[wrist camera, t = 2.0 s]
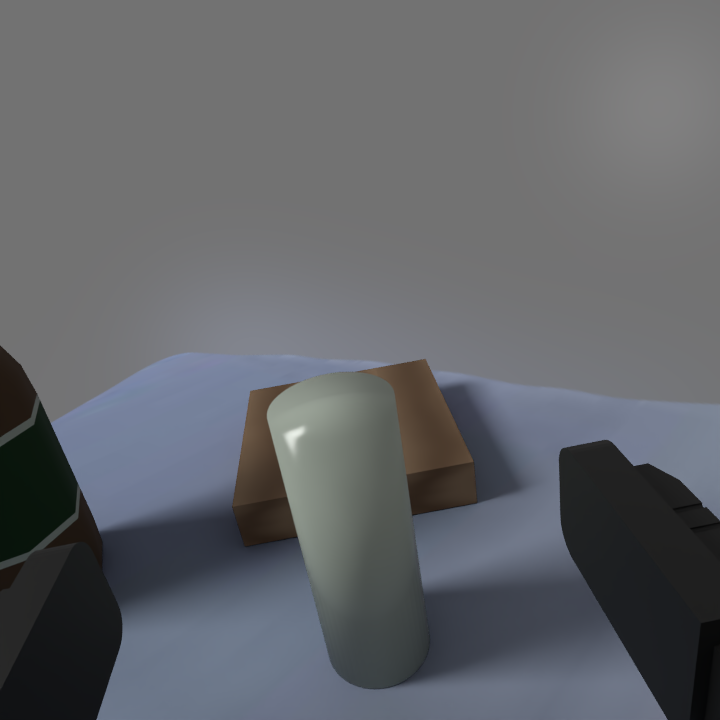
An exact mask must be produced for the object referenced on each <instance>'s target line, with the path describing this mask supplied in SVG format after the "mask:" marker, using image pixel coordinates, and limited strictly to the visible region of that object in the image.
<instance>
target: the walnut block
mask: <svg viewBox="0 0 720 720" xmlns="http://www.w3.org/2000/svg"><path fill="white" fill-rule="evenodd" d="M357 372H361V373H367V374H372V375H375V376H378V377H380V378H382V379H384V380H386V381H387V382H388V383H389V384H390V385H391V386H392V388H393V390H394V394H395V400H396V407H397V414H398V421H399V428H400V435H401V442H402V449H403V456H404V462H405V469H406V476H407V483H408V490H409V497H410V504H411V511H412V515H415V514H420V513H425V512H431V511H436V510H441V509H447V508H452V507H457V506H462V505H468V504H473V503H477V494H476V482H475V470H474V461H473V459H472V457H471V455H470V453H469V450H468V448H467V446H466V444H465V442H464V440H463V438H462V436H461V433H460V431H459V429H458V427H457V425H456V423H455V421H454V419H453V416H452V414H451V412H450V410H449V408H448V406H447V404H446V402H445V400H444V397H443V395H442V393H441V391H440V389H439V387H438V385H437V383H436V380H435V378H434V376H433V374H432V372H431V370H430V368H429V366H428V364H427V361H426V359H423V360H418V361H412V362H407V363H401V364H396V365H390V366H385V367H379V368H374V369H368V370H363V371H357ZM297 383H299V382H297ZM297 383H292V384H286V385H281V386H275V387H270V388H264V389H259V390H253V391H250V397H249V403H248V410H247V416H246V422H245V429H244V435H243V442H242V448H241V454H240V461H239V467H238V473H237V480H236V486H235V493H234V499H233V505H232V508H233V511H234V514H235V517H236V520H237V523H238V526H239V530H240V533H241V536H242V539H243V542H244V545H245V546H250V545H256V544H261V543H266V542H272V541H277V540H282V539H287V538H293V537H298V536H297V532H296V528H295V524H294V520H293V516H292V512H291V509H290V505H289V501H288V497H287V493H286V489H285V486H284V482H283V478H282V474H281V470H280V466H279V463H278V459H277V455H276V451H275V447H274V443H273V439H272V436H271V432H270V428H269V424H268V420H267V411H268V408H269V406H270V404H271V403H272V402H273V400H274V399H275V398H276V397H277V396H278V395H279V394H281V393H282V392H283V391H285V390H286V389H288V388H290V387H291V386H293V385H295V384H297Z"/></svg>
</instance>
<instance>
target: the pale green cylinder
mask: <svg viewBox="0 0 720 720" xmlns="http://www.w3.org/2000/svg"><path fill="white" fill-rule="evenodd" d="M267 420H268V424H269V428H270V432H271V436H272V439H273V443H274V447H275V451H276V455H277V459H278V463H279V466H280V470H281V474H282V478H283V482H284V486H285V489H286V493H287V497H288V501H289V505H290V509H291V512H292V516H293V520H294V524H295V528H296V532H297V536H298V539H299V543H300V547H301V551H302V555H303V559H304V562H305V566H306V570H307V574H308V578H309V582H310V586H311V589H312V593H313V597H314V601H315V605H316V609H317V612H318V616H319V620H320V624H321V628H322V632H323V635H324V639H325V643H326V647H327V651H328V655H329V658H330V662H331V664H332V666H333V668H334V669H335V671H336V672H337V673H338V674H339V675H340V676H341V677H342V678H343V679H344V680H346V681H347V682H349V683H351V684H353V685H355V686H358V687H362V688H368V689H381V688H387V687H391V686H394V685H397V684H399V683H401V682H403V681H405V680H406V679H408V678H409V677H411V676H412V675H413V674H414V673H415V672H416V671H417V670H418V669H419V668H420V666H421V665H422V663H423V662H424V660H425V658H426V656H427V653H428V650H429V644H430V635H429V628H428V622H427V615H426V608H425V601H424V594H423V587H422V580H421V573H420V566H419V559H418V552H417V545H416V539H415V532H414V525H413V518H412V511H411V504H410V497H409V490H408V483H407V476H406V469H405V462H404V456H403V449H402V442H401V435H400V428H399V421H398V414H397V407H396V400H395V394H394V390H393V388H392V386H391V385H390V384H389V383H388V382H387V381H386V380H384V379H382V378H380V377H378V376H375V375H372V374H367V373H361V372H338V373H330V374H325V375H320V376H316V377H313V378H310V379H307V380H304V381H302V382H299V383H297V384H295V385H293V386H291V387H290V388H288V389H286V390H285V391H283V392H282V393H281V394H279V395H278V396H277V397H276V398H275V399H274V400H273V402H272V403H271V404H270V406H269V408H268V411H267Z"/></svg>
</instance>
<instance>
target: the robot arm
mask: <svg viewBox="0 0 720 720" xmlns="http://www.w3.org/2000/svg"><path fill="white" fill-rule="evenodd" d="M559 475H560V515H561V526H562V531H563V535H564V539H565V542H566V545H567V548H568V550H569V552H570V555H571V557H572V558H573V560H574V562H575V564H576V565H577V567H578V569H579V570H580V572H581V574H582V575H583V577H584V579H585V580H586V582H587V584H588V586H589V587H590V589H591V591H592V592H593V594H594V596H595V597H596V599H597V601H598V602H599V604H600V606H601V608H602V609H603V611H604V613H605V614H606V616H607V618H608V619H609V621H610V623H611V624H612V626H613V628H614V630H615V631H616V633H617V635H618V636H619V638H620V640H621V641H622V643H623V645H624V646H625V648H626V650H627V652H628V653H629V655H630V657H631V658H632V660H633V662H634V663H635V665H636V667H637V668H638V670H639V672H640V674H641V675H642V677H643V679H644V680H645V682H646V684H647V685H648V687H649V689H650V690H651V692H652V694H653V696H654V697H655V699H656V701H657V702H658V704H659V706H660V707H661V709H662V711H663V712H664V714H665V716H666V718H667V719H668V720H720V521H719V519H718V518H717V517H716V516H715V515H714V514H713V513H712V512H711V511H710V510H709V509H708V508H707V507H705V508H704V507H703V506H702V502H701V501H700V500H699V499H698V498H697V497H696V496H695V495H694V494H693V493H692V492H691V491H690V490H689V489H688V488H687V487H686V486H685V485H684V484H683V483H682V482H681V481H680V480H678V479H677V478H675V477H673V476H671V475H669V474H667V473H665V472H663V471H661V470H660V469H658V468H656V467H654V466H652V465H650V464H643V465H638V466H633V465H632V464H631V463H630V462H629V461H628V459H627V458H626V457H625V456H624V455H623V454H622V453H621V452H620V451H619V449H618V448H617V447H616V446H615V445H614V444H613V443H612V442H610V441H609V440H602V441H597V442H592V443H587V444H582V445H577V446H572V447H567V448H563V449H561V451H560V455H559ZM121 640H122V617H121V612H120V608H119V606H118V603H117V601H116V599H115V597H114V595H113V593H112V591H111V589H110V587H109V585H108V582H107V580H106V578H105V576H104V574H103V572H102V570H101V568H100V566H99V564H98V562H97V559H96V557H95V555H94V553H93V551H92V549H91V548H90V547H89V545H88V544H86V543H84V542H77V543H72V544H67V545H62V546H57V547H52V548H47V549H42V550H37V551H34V552H33V553H31V554H30V555H29V557H28V558H27V560H26V561H25V563H24V565H23V566H22V568H21V570H20V572H19V573H18V575H17V577H16V578H15V580H14V582H13V583H12V585H11V587H10V588H8V589H3V590H2V591H1V592H0V720H96V719H97V716H98V713H99V710H100V707H101V704H102V701H103V698H104V695H105V692H106V688H107V685H108V682H109V679H110V676H111V673H112V670H113V667H114V664H115V661H116V658H117V655H118V652H119V649H120V645H121Z"/></svg>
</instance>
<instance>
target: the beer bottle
mask: <svg viewBox="0 0 720 720" xmlns="http://www.w3.org/2000/svg"><path fill="white" fill-rule="evenodd" d="M77 542H84V543H86V544H88V545H89V547H90V548H91V549H92V551H93V553H94V555H95V557H96V559H97V562H98V564H99V566H100V568H101V570H102V539H101V537H100V534H99V531H98V528H97V526H96V523H95V520H94V518H93V515H92V513H91V511H90V509H89V507H88V505H87V502H86V500H85V498H84V496H83V494H82V491H81V489H80V487H79V485H78V483H77V480H76V478H75V476H74V474H73V472H72V469H71V467H70V465H69V463H68V461H67V458H66V456H65V454H64V452H63V450H62V447H61V445H60V443H59V441H58V439H57V436H56V434H55V432H54V430H53V428H52V425H51V423H50V421H49V419H48V417H47V415H46V412H45V410H44V408H43V406H42V404H41V401H40V399H39V397H38V395H37V393H36V391H35V389H34V388H33V386H32V384H31V382H30V381H29V379H28V377H27V375H26V373H25V372H24V370H23V368H22V366H21V365H20V364H19V363H18V362H17V361H16V360H15V359H14V358H13V357H12V356H11V355H10V354H9V353H7V352H6V351H5V350H4V349H3V348H2V347H1V346H0V592H1V591H2V590H3V589H8V588H10V587H11V585H12V583H13V582H14V580H15V578H16V577H17V575H18V573H19V572H20V570H21V568H22V566H23V565H24V563H25V561H26V560H27V558H28V557H29V555H30V554H31V553H33V552H34V551H37V550H42V549H47V548H52V547H57V546H62V545H67V544H72V543H77Z"/></svg>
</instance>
